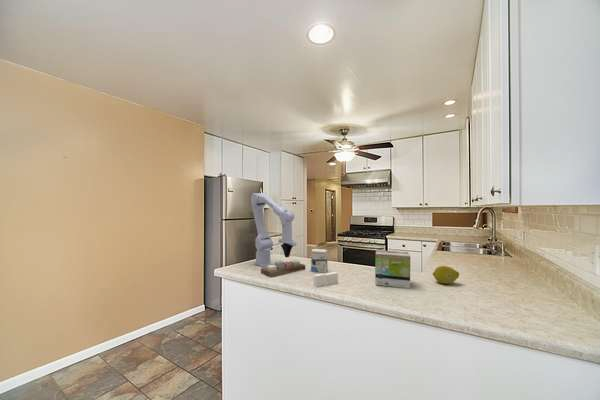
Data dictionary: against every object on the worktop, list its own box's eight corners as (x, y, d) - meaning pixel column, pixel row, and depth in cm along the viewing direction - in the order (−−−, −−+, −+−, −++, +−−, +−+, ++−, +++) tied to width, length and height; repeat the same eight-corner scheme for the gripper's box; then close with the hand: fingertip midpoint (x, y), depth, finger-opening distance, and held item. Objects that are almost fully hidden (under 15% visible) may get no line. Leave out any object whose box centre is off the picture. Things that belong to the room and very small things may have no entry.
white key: (266, 271, 135) (266, 266, 135) (272, 270, 138) (272, 264, 138) (270, 273, 132) (270, 267, 132) (276, 271, 134) (276, 266, 134)
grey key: (274, 267, 138) (274, 261, 138) (280, 266, 141) (280, 260, 141) (278, 268, 135) (278, 263, 135) (284, 267, 138) (284, 262, 138)
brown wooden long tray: (261, 273, 136) (260, 268, 136) (294, 265, 151) (294, 261, 151) (270, 277, 129) (270, 272, 128) (305, 269, 143) (305, 264, 143)
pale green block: (289, 266, 145) (289, 261, 145) (295, 265, 147) (295, 260, 147) (294, 267, 142) (293, 262, 142) (299, 266, 144) (299, 261, 144)
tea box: (375, 285, 115) (374, 253, 115) (375, 279, 125) (375, 249, 124) (410, 289, 110) (410, 255, 110) (408, 281, 120) (407, 250, 120)
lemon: (432, 284, 116) (432, 267, 116) (432, 279, 123) (432, 263, 123) (460, 288, 111) (460, 270, 111) (458, 282, 118) (458, 265, 118)
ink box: (310, 271, 138) (310, 250, 138) (312, 269, 142) (312, 248, 142) (326, 273, 135) (325, 251, 135) (327, 270, 140) (327, 249, 140)
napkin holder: (340, 281, 123) (340, 270, 123) (340, 290, 111) (340, 277, 111) (310, 280, 125) (309, 269, 125) (307, 288, 113) (307, 276, 113)
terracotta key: (282, 268, 142) (282, 262, 142) (288, 266, 144) (288, 261, 144) (286, 269, 138) (286, 264, 138) (292, 268, 141) (292, 262, 141)
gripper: (300, 233, 138) (300, 258, 138) (285, 230, 149) (285, 253, 149) (290, 234, 134) (290, 260, 134) (275, 232, 145) (275, 255, 145)
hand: (287, 256), depth 141 cm, fingers closed
